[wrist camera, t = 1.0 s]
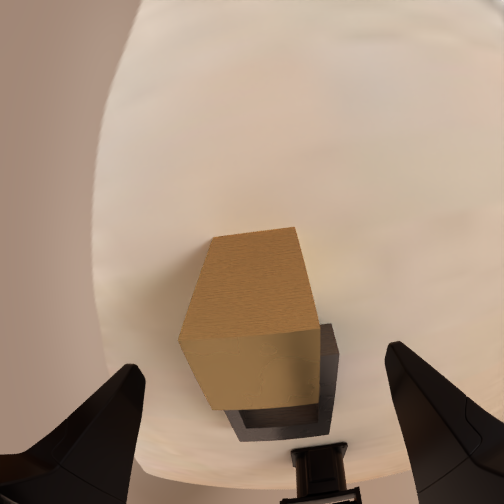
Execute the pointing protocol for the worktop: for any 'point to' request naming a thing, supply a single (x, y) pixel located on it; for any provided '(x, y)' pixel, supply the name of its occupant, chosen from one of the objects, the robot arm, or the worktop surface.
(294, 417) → the steel rail
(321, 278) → the worktop surface
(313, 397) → the brass block
